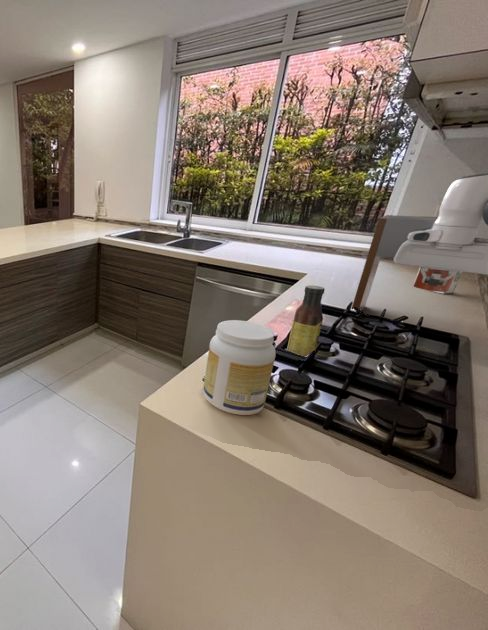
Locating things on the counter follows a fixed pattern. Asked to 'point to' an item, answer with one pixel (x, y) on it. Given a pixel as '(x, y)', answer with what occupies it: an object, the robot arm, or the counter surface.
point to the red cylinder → (434, 280)
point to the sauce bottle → (307, 322)
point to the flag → (387, 247)
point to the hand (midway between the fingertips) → (432, 283)
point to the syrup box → (453, 283)
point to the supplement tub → (239, 367)
